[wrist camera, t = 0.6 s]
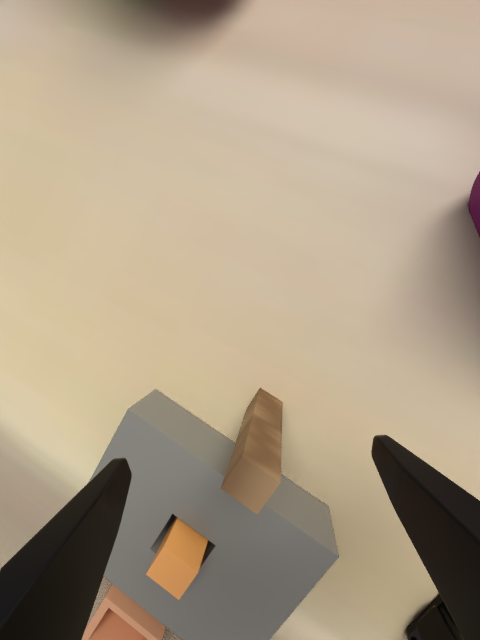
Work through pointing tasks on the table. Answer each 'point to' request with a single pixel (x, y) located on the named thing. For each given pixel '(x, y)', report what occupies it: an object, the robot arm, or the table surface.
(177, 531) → the button
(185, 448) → the box
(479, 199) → the mounting bracket
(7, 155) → the table surface
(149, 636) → the holder
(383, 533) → the table surface
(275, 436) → the brown wooden bar
